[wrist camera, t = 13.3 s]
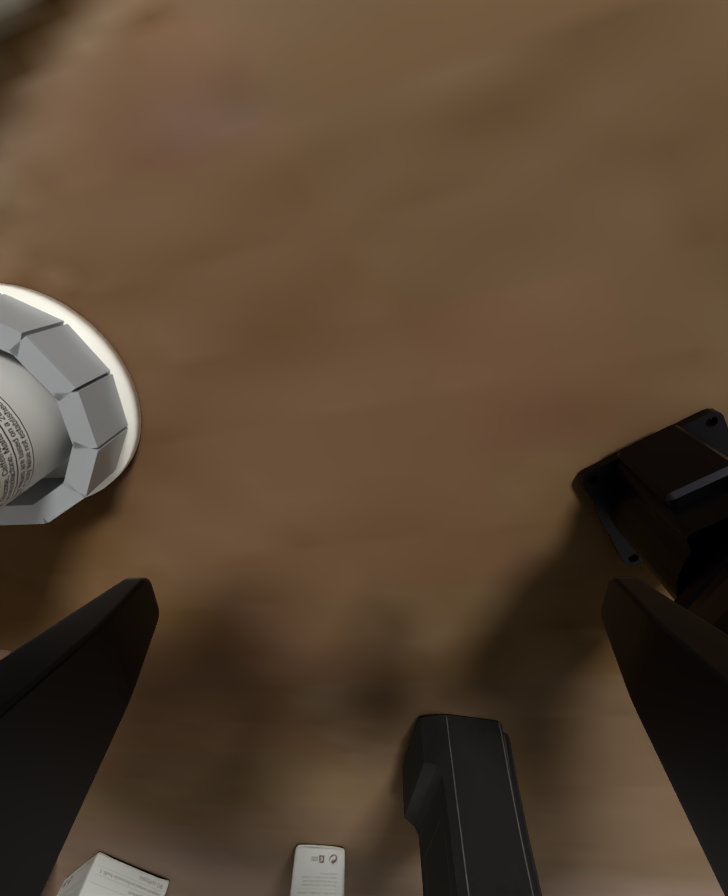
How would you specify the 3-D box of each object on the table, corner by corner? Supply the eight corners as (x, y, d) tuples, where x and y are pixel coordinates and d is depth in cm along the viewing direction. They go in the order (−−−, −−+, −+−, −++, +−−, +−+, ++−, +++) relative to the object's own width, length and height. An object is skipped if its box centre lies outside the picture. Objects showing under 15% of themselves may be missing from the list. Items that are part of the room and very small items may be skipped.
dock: (186, 429, 22) (156, 460, 19) (45, 525, 25) (-1, 566, 22) (9, 229, 18) (-63, 229, 15) (-133, 367, 21) (-217, 390, 18)
